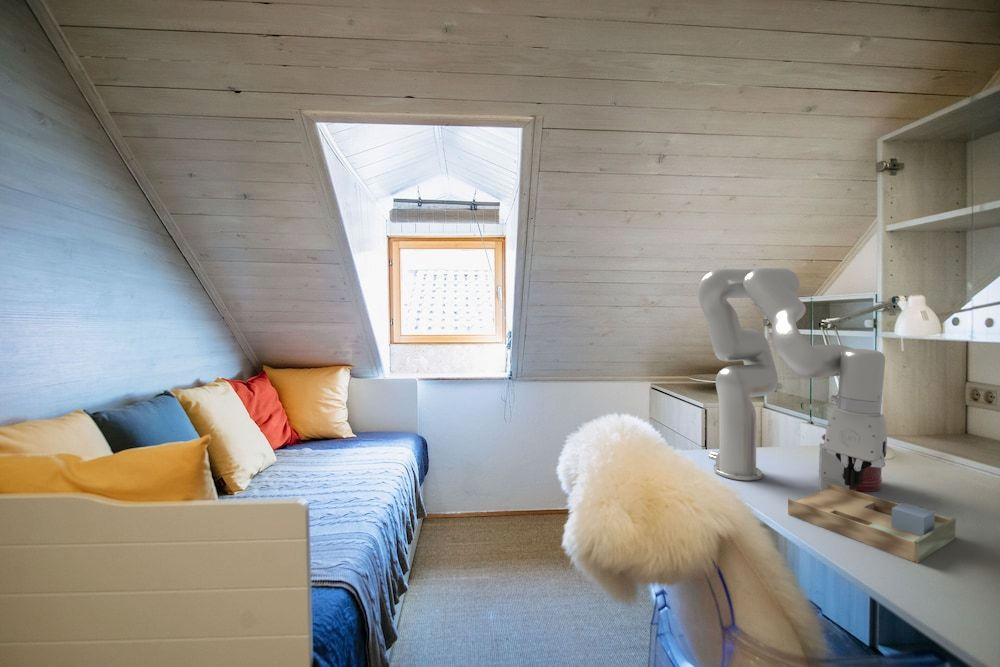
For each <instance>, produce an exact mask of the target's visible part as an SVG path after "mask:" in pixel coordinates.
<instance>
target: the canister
mask: <svg viewBox="0 0 1000 667" xmlns="http://www.w3.org/2000/svg"><path fill="white" fill-rule="evenodd" d="M826 429H827V427H825V430H826ZM825 435H826V433H825V434H822V435H821V439H822V440H823V444H825ZM853 460H854V465H855V462H856V458H853ZM882 469H883V467H882V468H879V467H868V468H865V469H863V479H862V483H861V484H860V485H859V486H856V487H854V488H853V487H850V486H849V489H850V490H854V491H857V492H876V491H879V490H881V489H882V486H883V477H882Z"/></svg>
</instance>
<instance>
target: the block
mask: <svg viewBox="0 0 1000 667" xmlns="http://www.w3.org/2000/svg"><path fill="white" fill-rule="evenodd" d="M898 504H899V505H897V506H895V507H893V508H892V526H891V527H893V528H896V529H899V530H902V531H905V532H908V533H911V534H914V535H917V536H919V537H922V536H924V535H925V534H927V533H929V532H930V531H932V530H934V520H935V515H936V514H935V511H932V510H930V509H925V508H923V507H922V508H921V507H919V506H915V505H911V504H909V503H905V502H901V503H898Z"/></svg>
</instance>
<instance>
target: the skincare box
mask: <svg viewBox="0 0 1000 667" xmlns="http://www.w3.org/2000/svg"><path fill="white" fill-rule="evenodd" d="M826 449H827V448H826V447H825V444H824V443H821V442H820V443H819V456H818V458H819V459H818V485H817V486H818V491H819V492H820V491H822V490H825V489H828V483H830V484H833V485H837V486H840V487H843V488H847V489H849V486H847V485H845V480H844V479H843V474H844V467H843V466H842V464H841V462H840V461H839V459H838V458H837V457H836V456H834V455H832V454H830V453H828V452H827V451H826Z"/></svg>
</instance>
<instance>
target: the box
mask: <svg viewBox="0 0 1000 667" xmlns="http://www.w3.org/2000/svg"><path fill="white" fill-rule="evenodd" d="M899 504H900V503H897V502H894V501H890V500H887V499H885V498H880V497H877V496H873V495H871V494H867V493H863V492H861V491H857V490H850V489H847V488H843V487H840V486H837V485H833V484H830V483H828V489H825V490H822V491H820V490H819V491H818V492H815V493H813V494H810V495H808V496H804V497H802V498H800V499H797V500H795V499H792V498H787V515H788V514H789V515H788V516H792V517H793V516H794V518H796V517H797V519H799V520H801V519H802V521H805V522H807V523H809V522H810V524H813V525H815V526H817V527H820V528H823V529H825V530H828V531H831V532H833V531H834V533H836V532H837V534H839V535H841V534H842V535H841V536H844V535H845V536H844V537H847V536H848V537H847V538H849V537H851V538H850V539H852V538H853V539H852V540H854V539H856V540H855V541H857V540H859V541H858V542H860V541H861V542H860V543H862V542H863V544H865V543H866V544H865V545H869V546H870V545H871V547H873V546H874V548H876V549H878V548H879V550H881V551H883V552H887V553H889V554H892V555H895V556H897V557H899V558H902V559H905V560H908V561H911V562H914V563H916V564H918V563H920V562H921V561H923V560H924V559H926V558H927V557H929V556H930V555H932V554H933V553H935V552H937V550H940V549H941V548H942V547H944V546H946V545H947V544H949V543H950V542H952V541H953V540H955V539H956V524H957V520H956V518H953V517H952V518H948V517H945V516H941V515H940V514H939V515H938V514H935V520H934V530H932V531H930V532H929V533H927V534H925V535H924V536H922V537H919V536H917V535H914V534H911V533H908V532H905V531H902V530H899V529H896V528H893V527H891V526H892V508H893V507H895V506H897V505H899Z"/></svg>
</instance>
